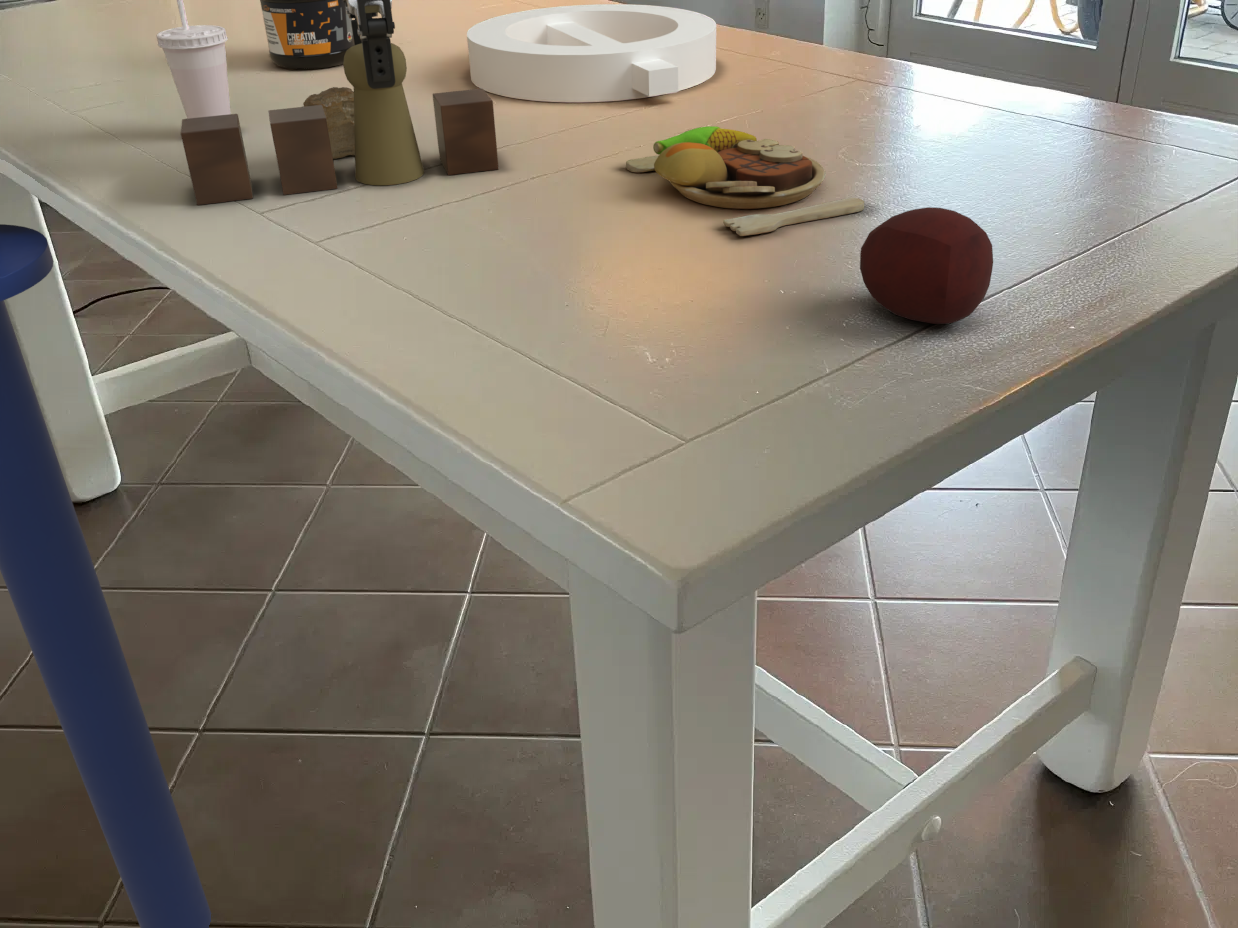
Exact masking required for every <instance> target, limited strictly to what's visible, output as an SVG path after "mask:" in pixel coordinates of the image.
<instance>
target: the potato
mask: <svg viewBox="0 0 1238 928" xmlns="http://www.w3.org/2000/svg"><path fill="white" fill-rule="evenodd" d="M993 268H994V251H993V243H992V241H991V240H990V238H989V236H988V233H987V231H985V230H984V229H983V228H982V227H981V226H980V225H979V224H978V223H977V222H975V221H974V220H973V219H972V218H970V217H968V216H967V215H964V214H962V213H960V212H957V211H956V210H952V209H947V208H943V207H931V206H930V207H921V208H915V209H910V210H906V211H904V212H901V213H899V214H896V215H893V216H891V217H889V218H888V219H886V220H885V221H884V222H882V223H880V224H879V225H878V226H877V227H874V229H872V230H871V231H870V232H868V235H867V236H866V237H865V240H864V242H863V244H862V245H861V248H860V254H859V269H860V274H861V277H862V281H863V283H864V286H865V288H866V289H867V291H868V292H869V294H870V296H871V297H872V298H873V299H874V300H875V301H876V302H877V303H878V304H879V305H880V306H882V307H883V308H884V309H886V310H887V311H889V312H891V313H892V314H894V315H896V316H899V317H901V318H904V319H907V320H911V321H915V322H921V323H926V324H931V325H932V324H933V325H945V324H953V323H956V322H960V321H961V320H963V319H965V318H967V317H968V316H970V315H971V314H972V313H973V312H974V311H975V310H976V309H977V308H978V307H979V306H980V304H981V303H982V302H983V300H984V299H985V296H986V295H987V292H988V290H989V287H990V285H991V279H992V275H993Z"/></svg>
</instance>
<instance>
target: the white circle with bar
mask: <svg viewBox="0 0 1238 928" xmlns="http://www.w3.org/2000/svg"><path fill="white" fill-rule="evenodd" d="M466 41H467V51H468V52H467V53H468V63H469V72H470V81H471V83H472V84H474V86H476V87H477V88H478V89H483V90H484V91H485V92H486V93H487V92H488V93H490V94H494V95H497V96H502V97H507V98H512V99H517V100H518V99H519V100H524V101H525V100H526V101H533V102H549V103H602V102H605V103H606V102H617V101H627V100H629V101H630V100H636V99H644V98H651V97H657V96H662V95H669V94H676V93H679V92H680V91H683V90H686V89H690V88H693V87H695V86H698V85H700V84H702V83H705V82H707V81H708V80H710V79H711V78H712V77H713V76H714V75H715V73H716V71H717V70H716V69H717V22H716V21H715V20H714V19H713V18H712V17H710V16H708V15H706V14H703V13H700V12H697V11H693V10H689V9H683V8H679V7H678V8H677V7H671V6H663V5H649V4H630V3H626V4H625V3H617V4H616V3H609V4H608V3H601V4H600V3H595V4H574V5H561V6H551V7H542V8H534V9H527V10H522V11H515V12H510V13H506V14H501V15H498V16H494V17H490V18H488V19H485V20H482V21H480V22H477V23H475V24H474V25H472V26H470V28H469V29H468V30H467V31H466Z"/></svg>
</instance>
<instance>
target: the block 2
mask: <svg viewBox="0 0 1238 928" xmlns="http://www.w3.org/2000/svg"><path fill="white" fill-rule="evenodd" d="M267 112H268V113H267V114H268V118H269V119H268V120H269V124H270V130H271V131H270V132H271V136H272V141H273V146H274V153H275V156H276V157H275V158H276V162H277V168H278V173H279V177H280V184H281V189H282V194H283V195H284V196H286V195H294V194H305V193H311V192H319V191H320V192H321V191H328V190H337V189H338V182H337V176H336V169H335V164H334V159H333V157H332V151H331V145H330V138H329V132H328V126H327V120H326V116H325V113H324V110H323V107H322V105H316V106H306V107H303V106H296V107H288V108H287V107H286V108H278V109H269V110H268V111H267Z"/></svg>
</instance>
